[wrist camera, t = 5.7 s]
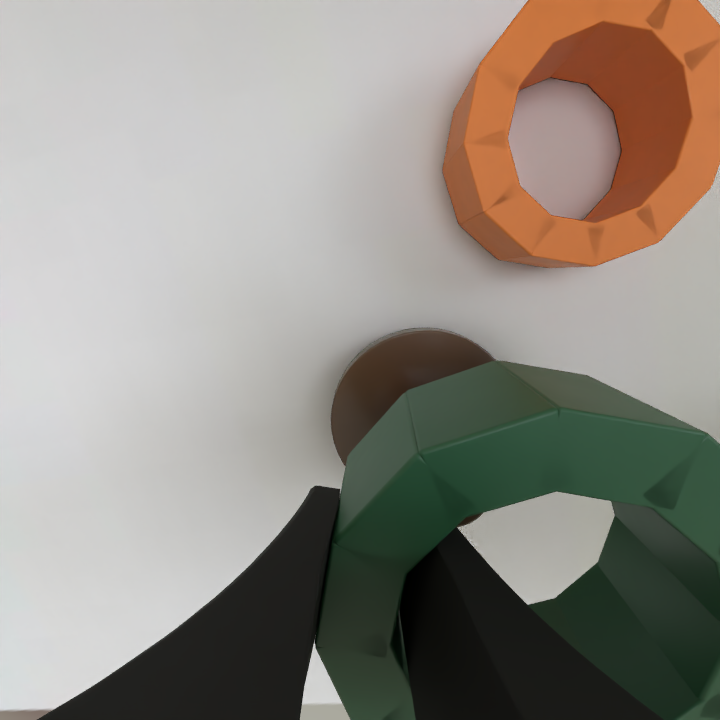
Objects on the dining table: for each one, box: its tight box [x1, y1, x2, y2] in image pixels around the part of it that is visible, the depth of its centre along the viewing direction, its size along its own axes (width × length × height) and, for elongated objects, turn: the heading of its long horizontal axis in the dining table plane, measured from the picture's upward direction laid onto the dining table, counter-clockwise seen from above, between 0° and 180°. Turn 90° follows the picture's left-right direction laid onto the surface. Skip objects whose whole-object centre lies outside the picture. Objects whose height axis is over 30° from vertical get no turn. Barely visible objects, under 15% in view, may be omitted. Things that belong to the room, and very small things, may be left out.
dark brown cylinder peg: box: [331, 328, 496, 527], centre depth 16 cm, size 9×9×7 cm
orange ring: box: [443, 0, 720, 268], centre depth 15 cm, size 9×9×4 cm
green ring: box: [315, 360, 720, 720], centre depth 9 cm, size 9×9×4 cm
